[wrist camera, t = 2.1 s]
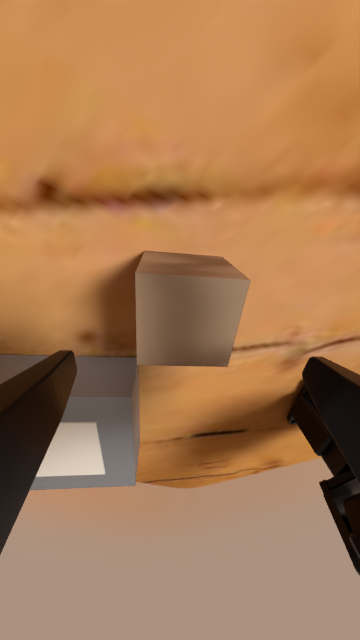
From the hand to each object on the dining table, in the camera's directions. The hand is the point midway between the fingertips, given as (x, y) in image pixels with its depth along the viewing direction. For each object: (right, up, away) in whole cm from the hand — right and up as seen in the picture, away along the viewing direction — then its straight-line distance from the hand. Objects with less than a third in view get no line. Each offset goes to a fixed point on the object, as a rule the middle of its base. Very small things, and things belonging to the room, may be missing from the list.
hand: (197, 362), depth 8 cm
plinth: (-11, -6, +11) cm, 17 cm away
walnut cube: (-1, +4, +7) cm, 8 cm away
